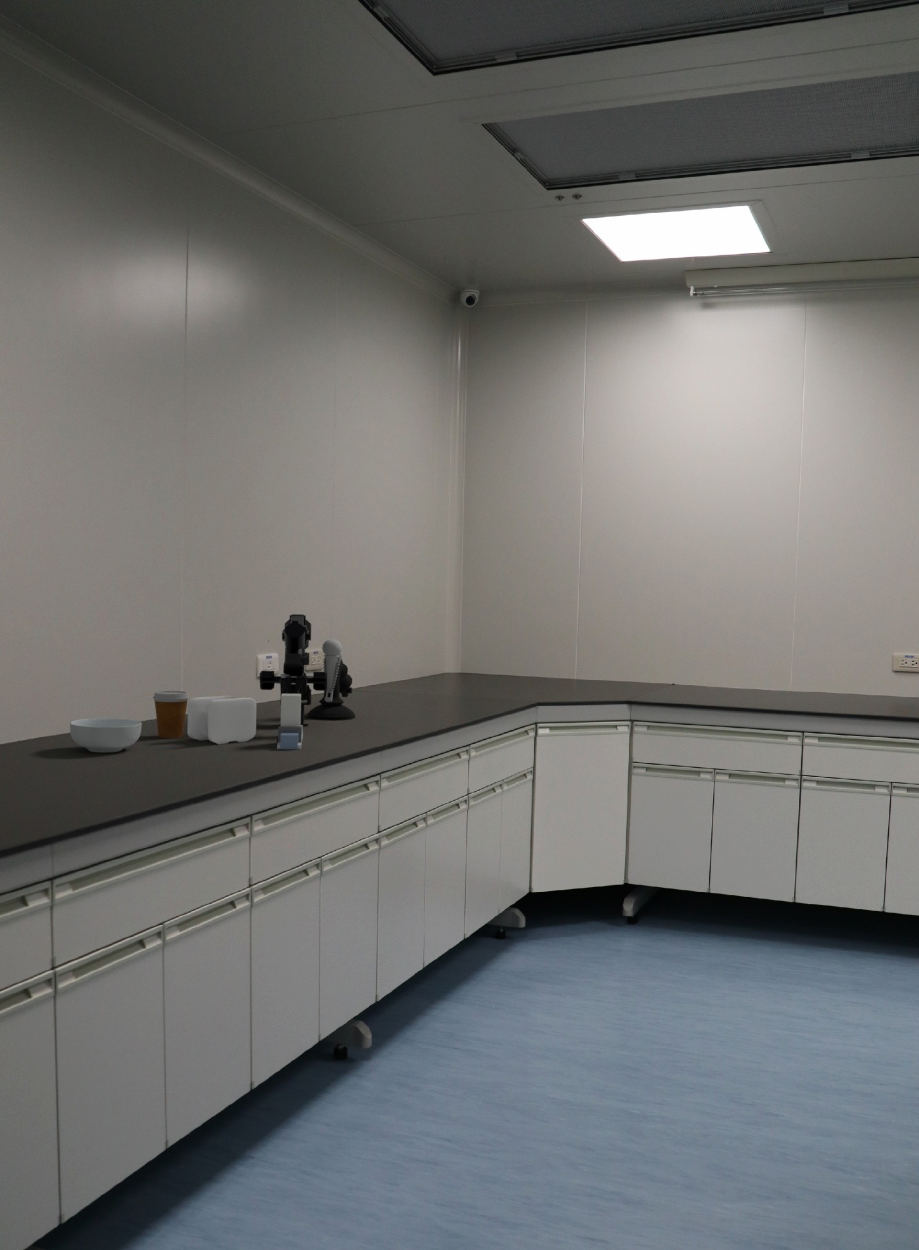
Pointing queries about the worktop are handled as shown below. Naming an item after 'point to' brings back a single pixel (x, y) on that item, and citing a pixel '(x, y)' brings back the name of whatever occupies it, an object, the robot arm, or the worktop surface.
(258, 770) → the worktop surface
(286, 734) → the cord rail
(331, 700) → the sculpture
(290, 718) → the grey rectangular box
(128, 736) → the cereal bowl
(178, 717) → the disposable coffee cup
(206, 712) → the cable organizer
